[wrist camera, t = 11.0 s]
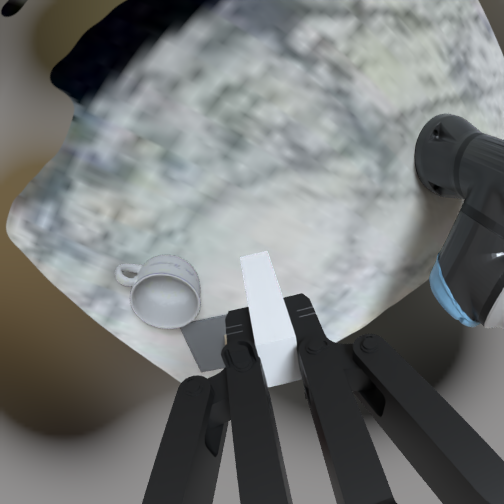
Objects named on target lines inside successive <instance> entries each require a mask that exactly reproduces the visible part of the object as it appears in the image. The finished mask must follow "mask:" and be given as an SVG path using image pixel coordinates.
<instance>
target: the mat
mask: <svg viewBox="0 0 504 504" xmlns="http://www.w3.org/2000/svg"><path fill="white" fill-rule="evenodd" d="M226 316H227V315H222V316H217V317H213V318H208V319H203V320H198V321H193V322H190V323H189V324H187V325H185V326H183V327H180V329H181V331H182V333H183V335H184V337H185V339H186V342H187V344H188V346H189V348H190V350H191V352H192V354H193V356H194V358H195V360H196V362H197V364H198V366H199V368H200V370H201V372H205V371H211V370H216V369H221V368H225V364H224V362H223V359H222V357H221V351H222V349H223V347H224V346H225V337H224V335H226V325H225V318H226Z"/></svg>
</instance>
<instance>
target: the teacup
mask: <svg viewBox="0 0 504 504" xmlns="http://www.w3.org/2000/svg"><path fill="white" fill-rule="evenodd" d="M122 272H133V273H137V276H135V277H134V278H128V277H126V276H124V275H123V274H122ZM115 278H116V280H117V281H118V282H119V283H120V284H121V285H123V286H127V287H132V289H131V293H130V304H131V307H132V309H133V311H134V312H135V314H136V315H137V316H138V317H139V318H140V319H141V320H143V321H144V322H145V323H147V324H149V325H151V326H154V327H158V328H163V329H175V328H180V327H183V326H185V325H187V324H189V323H190V322H192V321H193V320H194V319H195V318H196V316H197V315H198V313H199V311H200V307H201V302H200V281H199V277H198V274H197V272H196V270H195V269H194V267H193V266H192V265H191V264H190V263H188V262H187V261H186V260H184V259H182V258H180V257H177V256H174V255H159V256H155V257H153V258H151V259H149V260H148V261H147V262H146V263H144V265H142V264H139V265H135V264H128V263H124V264H120V265H119V266H118V267H117V268H116V270H115Z"/></svg>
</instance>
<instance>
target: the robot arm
mask: <svg viewBox="0 0 504 504" xmlns="http://www.w3.org/2000/svg"><path fill="white" fill-rule="evenodd" d="M415 164H416V169H417V173H418V175H419V178H420V180H421V181H422V183H423V184H424V185H425V187H427V188H428V189H429V190H430V191H432V192H434V193H436V194H437V195H439V196H442V197H448V198H460V199H465V200H464V203H463V205H462V208H461V210H460V212H459V214H458V216H457V219H456V221H455V223H454V225H453V227H452V229H451V231H450V233H449V235H448V237H447V240H446V242H445V244H444V245H443V247H442V249H441V251H440V252H439V253H438V255H437V259H436V262H435V264H434V267H433V269H432V271H431V273H430V277H429V280H430V287H431V290H432V292H433V294H434V296H435V298H436V299H437V301H438V302H439V303H440V305H441V306H442V307H443V308H444V309H445V310H446V311H447V312H448V313H449V314H450V315H451V316H452V317H453V318H455V319H456V320H457V319H458V320H459V321H460V322H461V323H462V324H464V325H466V326H469V327H475V326H477V325H479V324H480V323H481V324H482V325H483V326H484V327H486V328H493V327H501V328H502V329H503V330H504V140H502V139H499V138H496V137H493V136H490V135H487V134H484V133H482V132H480V131H479V130H478V129H477V128H476V127H474V126H473V125H472V124H471V123H469V122H468V121H467V120H465V119H464V118H462V117H459V116H456V115H452V114H440V115H438V116H435V117H434V118H432V119H431V120H430V121H429V122H428V123H427V124H426V125H425V126H424V128H423V129H422V131H421V133H420V135H419V138H418V141H417V144H416V150H415ZM240 261H241V266H242V272H243V278H244V284H245V290H246V295H247V301H248V307H246V308H241V309H237V310H232V311H229V312H228V314H227V316H226V318H225V325H226V338H227V344H226V345H225V346H224V347H223V349H222V351H221V357H222V359H223V362H224V364H225V368H224V369H223V370H222V371H221V372H220V373H218V374H217V375H215V376H213V377H210V378H208V379H207V378H205V377H203V376H198V375H197V376H191V377H189V378H187V379H185V380H184V381H183V382H182V383H181V384H180V386H179V388H178V391H177V394H176V397H175V400H174V403H173V406H172V409H171V412H170V415H169V418H168V422H167V424H166V428H165V431H164V434H163V437H162V440H161V443H160V447H159V450H158V453H157V456H156V459H155V463H154V466H153V469H152V472H151V476H150V479H149V482H148V485H147V489H146V492H145V496H144V499H143V502H142V504H212V502H213V498H214V492H215V488H216V482H217V478H218V472H219V467H220V462H221V457H222V452H223V446H224V442H225V437H226V432H227V426H228V421H230V420H231V423H232V433H233V443H234V452H235V461H236V469H237V478H238V486H239V495H240V503H241V504H293V503H292V498H291V494H290V489H289V484H288V480H287V475H286V470H285V465H284V461H283V456H282V452H281V446H280V442H279V437H278V432H277V427H276V423H275V418H274V413H273V408H272V403H271V398H270V394H269V391H268V387H272V386H276V385H280V384H285V383H289V382H293V381H297V380H301V379H303V383H304V390H305V398H306V399H307V400H308V404H309V407H310V410H311V414H312V418H313V421H314V424H315V428H316V431H317V434H318V438H319V442H320V445H321V449H322V452H323V456H324V459H325V463H326V466H327V470H328V473H329V477H330V481H331V484H332V488H333V491H334V495H335V498H336V502H337V504H397V503H396V502H395V500H394V498H393V495H392V492H391V490H390V487H389V484H388V481H387V479H386V476H385V474H384V471H383V468H382V466H381V463H380V460H379V458H378V455H377V452H376V450H375V447H374V445H373V442H372V440H371V437H370V435H369V432H368V430H367V427H366V424H365V422H364V419H363V417H362V414H361V412H360V409H359V407H358V404H357V402H356V400H355V397H354V395H353V392H354V394H355V395H356V396H357V398H358V399H359V400H360V401H361V403H362V404H363V405H364V406H365V408H366V409H367V410H368V411H369V412H370V414H371V415H372V416H373V418H374V419H375V420H376V421H377V423H378V424H379V425H380V426H381V427H382V428H383V430H384V431H385V432H386V434H387V435H388V436H389V437H390V438H391V440H392V441H393V443H394V444H395V445H396V446H397V447H398V449H399V450H400V451H401V452H402V453H403V455H404V456H405V457H406V459H407V460H408V461H409V462H410V464H411V465H412V466H413V467H414V468H415V470H416V471H417V472H418V474H419V475H420V476H421V477H422V478H423V480H424V481H425V482H426V483H427V485H428V486H429V487H430V488H431V490H432V491H433V492H434V493H435V494H436V496H437V497H438V498H439V499H440V501H441V502H442V503H443V504H504V461H503V460H502V459H501V458H500V457H499V456H498V455H497V453H495V451H494V450H493V449H492V448H491V447H490V446H489V445H488V444H487V443H486V442H485V441H484V440H483V439H482V438H481V437H480V436H479V434H478V433H477V432H476V431H475V430H474V429H473V428H472V427H471V426H470V425H469V424H468V423H467V422H466V421H465V420H464V419H463V418H462V417H461V416H460V415H459V414H458V413H457V412H456V411H455V410H454V409H453V408H452V407H451V406H450V405H449V404H448V402H446V400H445V399H444V398H443V397H441V396H440V394H439V393H438V392H437V391H436V390H435V389H434V388H433V387H432V386H431V385H430V384H429V383H428V382H427V381H426V380H425V379H424V378H422V376H421V375H420V374H419V373H418V372H417V371H416V370H415V369H414V368H413V367H411V365H410V364H408V362H407V361H405V360H404V359H403V358H402V357H401V356H400V355H399V354H398V353H397V352H396V351H395V350H394V349H393V348H392V347H391V346H390V345H389V344H388V343H387V342H386V341H385V340H384V339H383V338H382V337H380V336H378V335H375V334H365V335H362V336H360V337H358V338H357V339H356V340H355V342H354V344H338V343H335V342H332V341H330V340H329V339H328V338H327V337H326V336H325V334H324V331H323V329H322V327H321V324H320V322H319V320H318V317H317V315H316V314H315V311H314V308H313V306H312V304H311V301H310V299H309V298H308V297H306V296H305V295H304V294H302V293H301V294H297V295H293V296H289V297H285V298H283V296H282V293H281V290H280V287H279V284H278V281H277V278H276V275H275V272H274V269H273V266H272V263H271V260H270V257H269V254H268V251H264V252H260V253H256V254H252V255H247V256H243V257H240ZM352 391H353V392H352Z"/></svg>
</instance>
